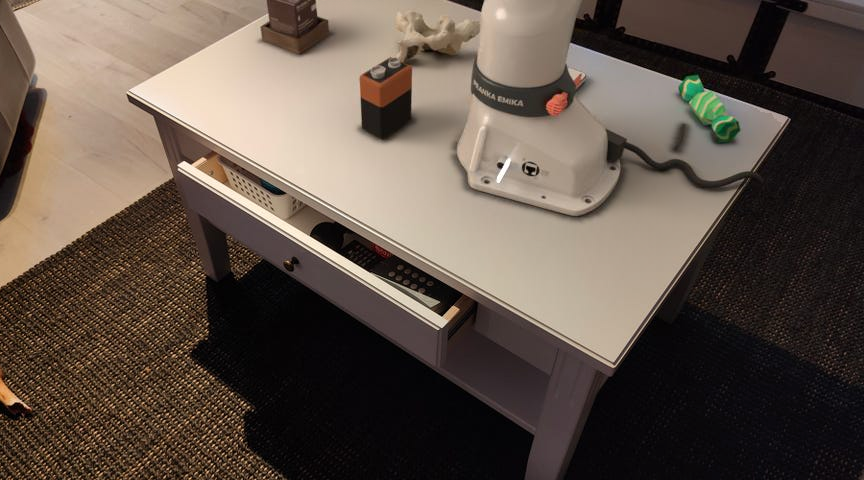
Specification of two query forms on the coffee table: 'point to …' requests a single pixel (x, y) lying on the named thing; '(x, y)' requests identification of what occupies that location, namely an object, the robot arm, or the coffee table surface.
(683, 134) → the stick
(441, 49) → the decorative object
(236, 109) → the coffee table surface
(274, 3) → the box
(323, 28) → the tray
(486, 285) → the coffee table surface
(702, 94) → the candy
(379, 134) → the battery
